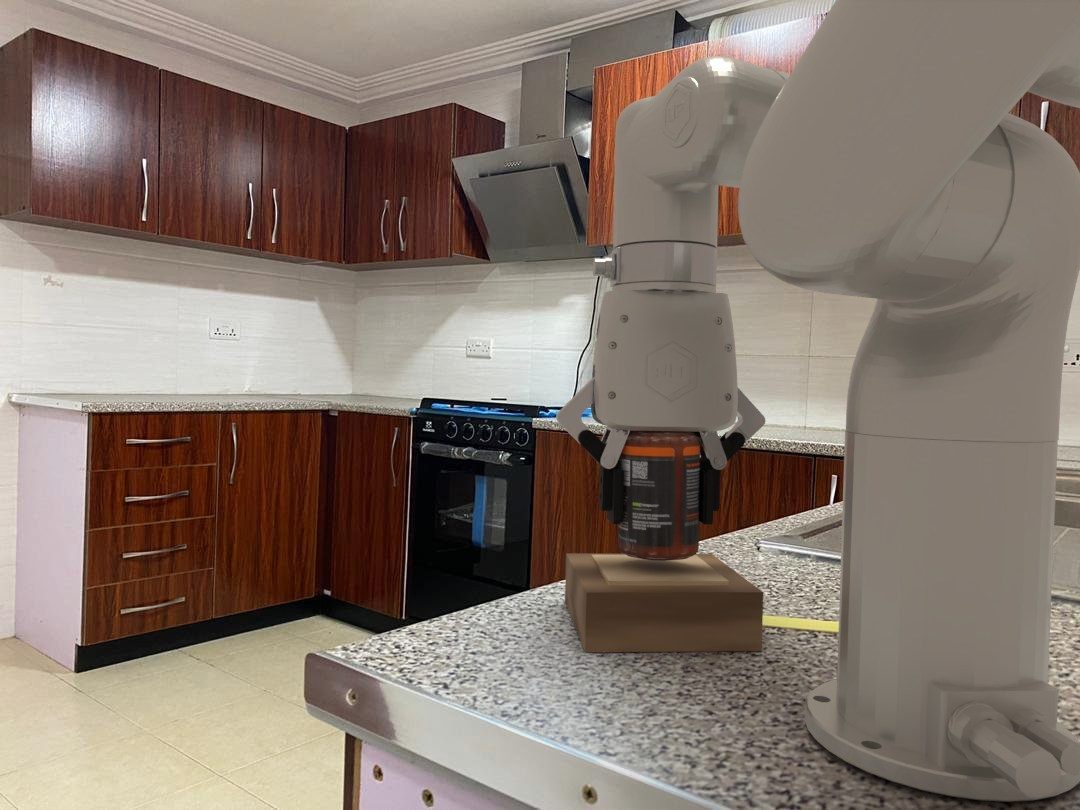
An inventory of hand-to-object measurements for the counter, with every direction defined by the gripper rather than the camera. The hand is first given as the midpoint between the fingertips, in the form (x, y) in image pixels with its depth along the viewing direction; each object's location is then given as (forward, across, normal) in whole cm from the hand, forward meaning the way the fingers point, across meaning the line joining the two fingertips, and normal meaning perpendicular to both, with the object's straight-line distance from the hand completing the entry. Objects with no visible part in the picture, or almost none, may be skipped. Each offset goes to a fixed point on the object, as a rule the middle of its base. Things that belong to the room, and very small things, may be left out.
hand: (658, 518), depth 60 cm
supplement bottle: (+3, 0, 0) cm, 3 cm away
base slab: (+8, 0, 0) cm, 8 cm away
